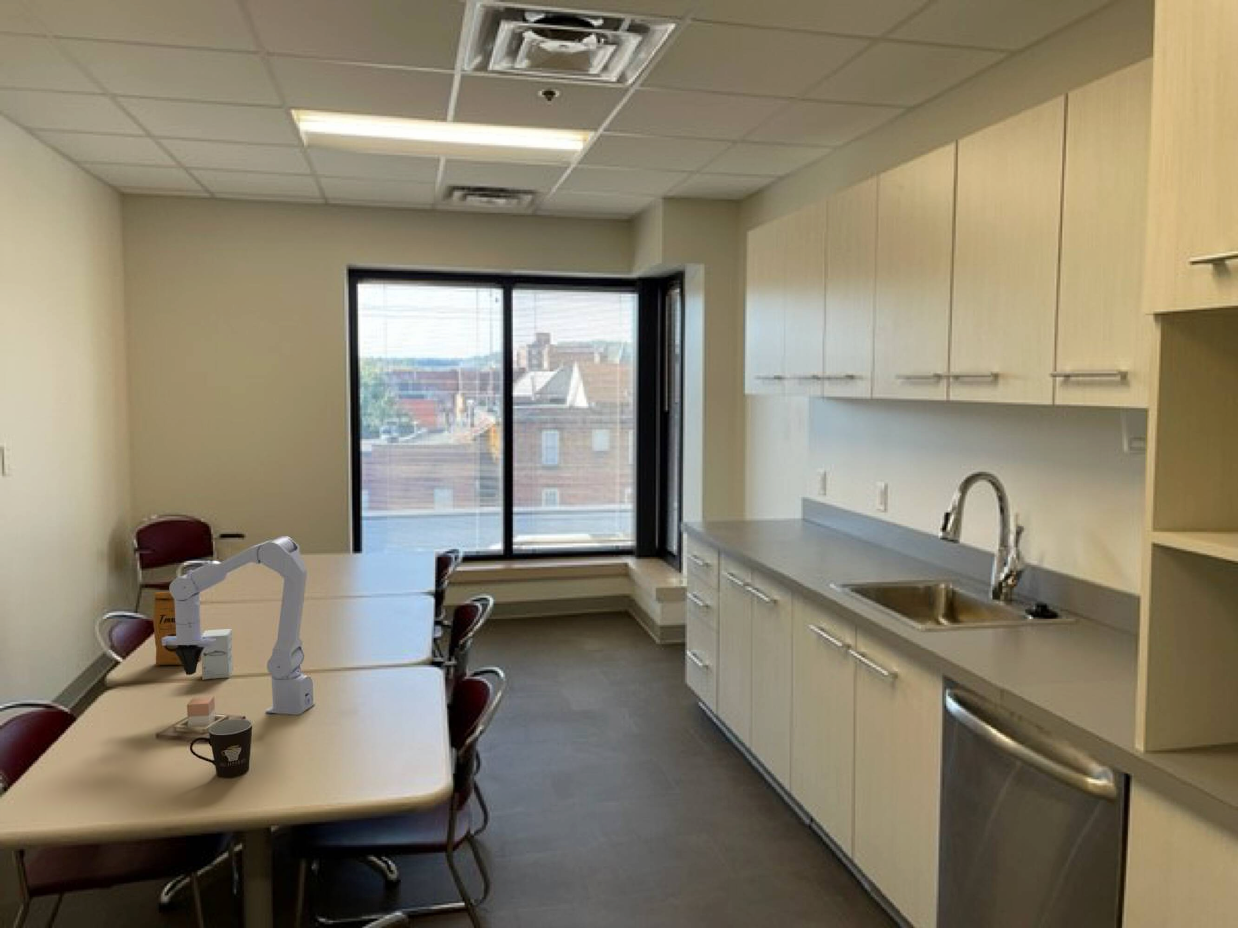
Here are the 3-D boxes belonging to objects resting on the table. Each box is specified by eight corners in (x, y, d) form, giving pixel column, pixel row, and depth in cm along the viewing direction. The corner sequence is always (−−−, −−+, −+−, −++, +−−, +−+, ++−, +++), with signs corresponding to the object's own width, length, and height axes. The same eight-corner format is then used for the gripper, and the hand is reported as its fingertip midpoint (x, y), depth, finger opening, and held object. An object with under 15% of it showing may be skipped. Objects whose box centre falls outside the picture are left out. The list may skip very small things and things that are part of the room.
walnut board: (245, 719, 216) (245, 712, 216) (208, 742, 203) (207, 734, 202) (195, 715, 219) (195, 708, 219) (155, 737, 205) (155, 729, 205)
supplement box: (201, 680, 246) (199, 636, 245) (206, 672, 253) (204, 629, 252) (229, 677, 248) (227, 634, 247) (234, 669, 255) (232, 627, 254)
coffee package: (195, 666, 258) (191, 594, 256) (150, 668, 256) (146, 595, 254) (206, 656, 268) (203, 586, 266) (164, 658, 266) (160, 587, 264)
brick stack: (215, 720, 214) (214, 696, 213) (209, 727, 209) (208, 703, 208) (194, 721, 213) (193, 697, 212) (188, 728, 208) (186, 704, 208)
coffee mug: (260, 762, 192) (258, 718, 191) (245, 780, 183) (243, 734, 182) (207, 763, 191) (204, 719, 190) (189, 781, 183) (186, 735, 182)
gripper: (223, 618, 224) (226, 670, 225) (174, 616, 227) (176, 666, 228) (205, 626, 217) (208, 679, 219) (154, 623, 220) (157, 675, 221)
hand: (190, 673), depth 223 cm, fingers closed
